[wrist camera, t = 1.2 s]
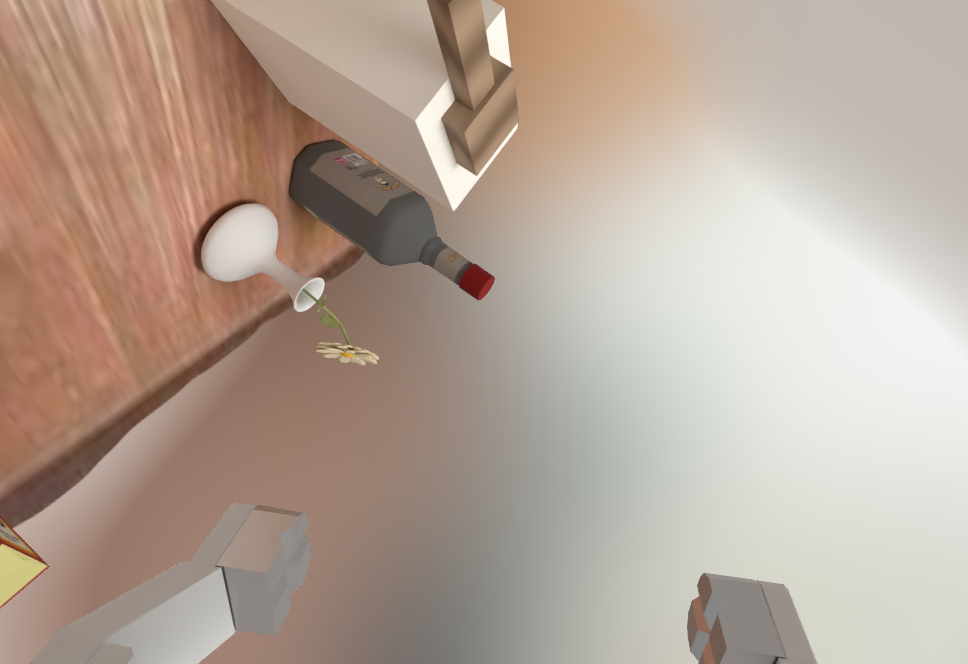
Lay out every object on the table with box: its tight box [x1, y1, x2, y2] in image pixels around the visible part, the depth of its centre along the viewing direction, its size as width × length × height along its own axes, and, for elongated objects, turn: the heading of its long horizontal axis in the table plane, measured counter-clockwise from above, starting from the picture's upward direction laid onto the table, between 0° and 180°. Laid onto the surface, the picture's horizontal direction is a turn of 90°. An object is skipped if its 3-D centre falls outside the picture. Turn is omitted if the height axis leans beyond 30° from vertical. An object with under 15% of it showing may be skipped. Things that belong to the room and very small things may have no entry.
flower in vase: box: [201, 204, 379, 365], centre depth 72 cm, size 13×11×25 cm
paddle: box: [427, 0, 519, 176], centre depth 47 cm, size 20×7×2 cm, turn 11°
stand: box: [211, 0, 518, 211], centre depth 58 cm, size 18×12×25 cm, turn 11°
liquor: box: [290, 141, 495, 300], centre depth 77 cm, size 9×9×30 cm
